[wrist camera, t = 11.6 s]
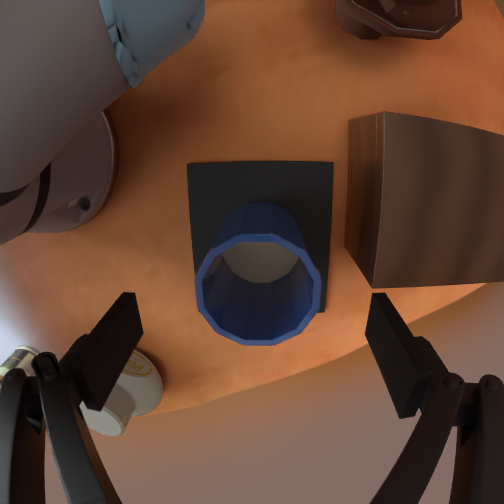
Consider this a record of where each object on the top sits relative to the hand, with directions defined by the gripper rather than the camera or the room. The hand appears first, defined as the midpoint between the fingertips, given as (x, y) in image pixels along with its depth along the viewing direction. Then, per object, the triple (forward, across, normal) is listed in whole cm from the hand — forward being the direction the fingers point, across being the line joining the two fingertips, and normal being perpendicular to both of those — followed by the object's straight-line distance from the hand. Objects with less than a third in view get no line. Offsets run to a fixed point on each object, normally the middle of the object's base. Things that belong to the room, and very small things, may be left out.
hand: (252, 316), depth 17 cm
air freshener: (+14, -17, -17) cm, 27 cm away
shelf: (+14, +16, +5) cm, 22 cm away
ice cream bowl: (+14, +10, +22) cm, 28 cm away
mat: (+14, 0, 0) cm, 14 cm away
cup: (+13, 0, 0) cm, 13 cm away
